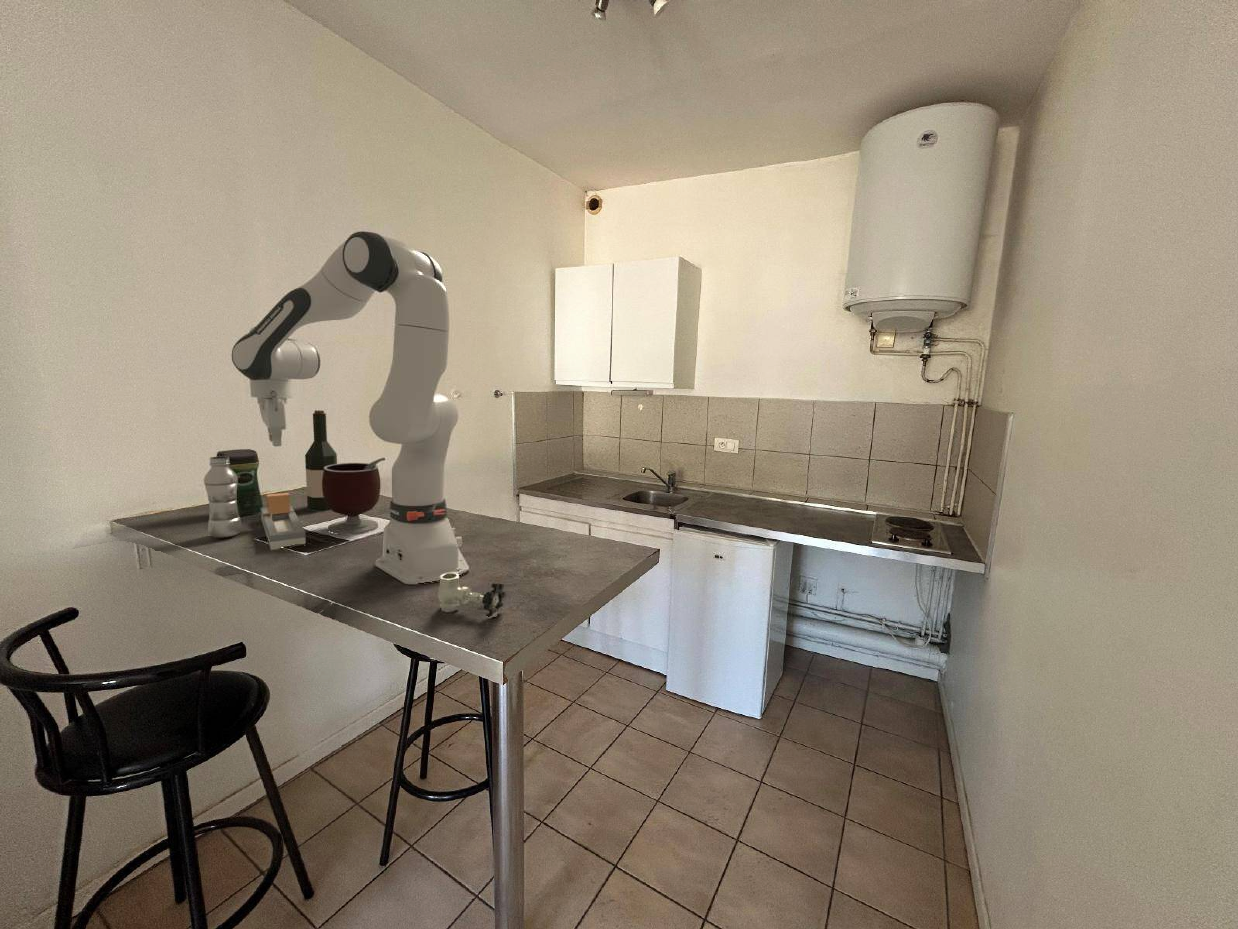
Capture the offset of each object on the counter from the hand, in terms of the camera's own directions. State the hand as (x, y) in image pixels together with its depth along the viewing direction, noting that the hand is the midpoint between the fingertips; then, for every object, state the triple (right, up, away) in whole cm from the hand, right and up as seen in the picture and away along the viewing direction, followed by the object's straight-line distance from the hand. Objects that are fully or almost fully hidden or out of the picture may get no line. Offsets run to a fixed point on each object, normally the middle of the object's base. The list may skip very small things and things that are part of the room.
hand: (275, 443), depth 129 cm
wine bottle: (-1, -19, +23) cm, 30 cm away
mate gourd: (+18, -23, +6) cm, 30 cm away
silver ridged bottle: (-8, -24, -7) cm, 26 cm away
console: (+2, -23, -1) cm, 23 cm away
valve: (+62, -33, -37) cm, 80 cm away
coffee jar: (-19, -20, +13) cm, 30 cm away
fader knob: (-1, -20, +3) cm, 20 cm away
